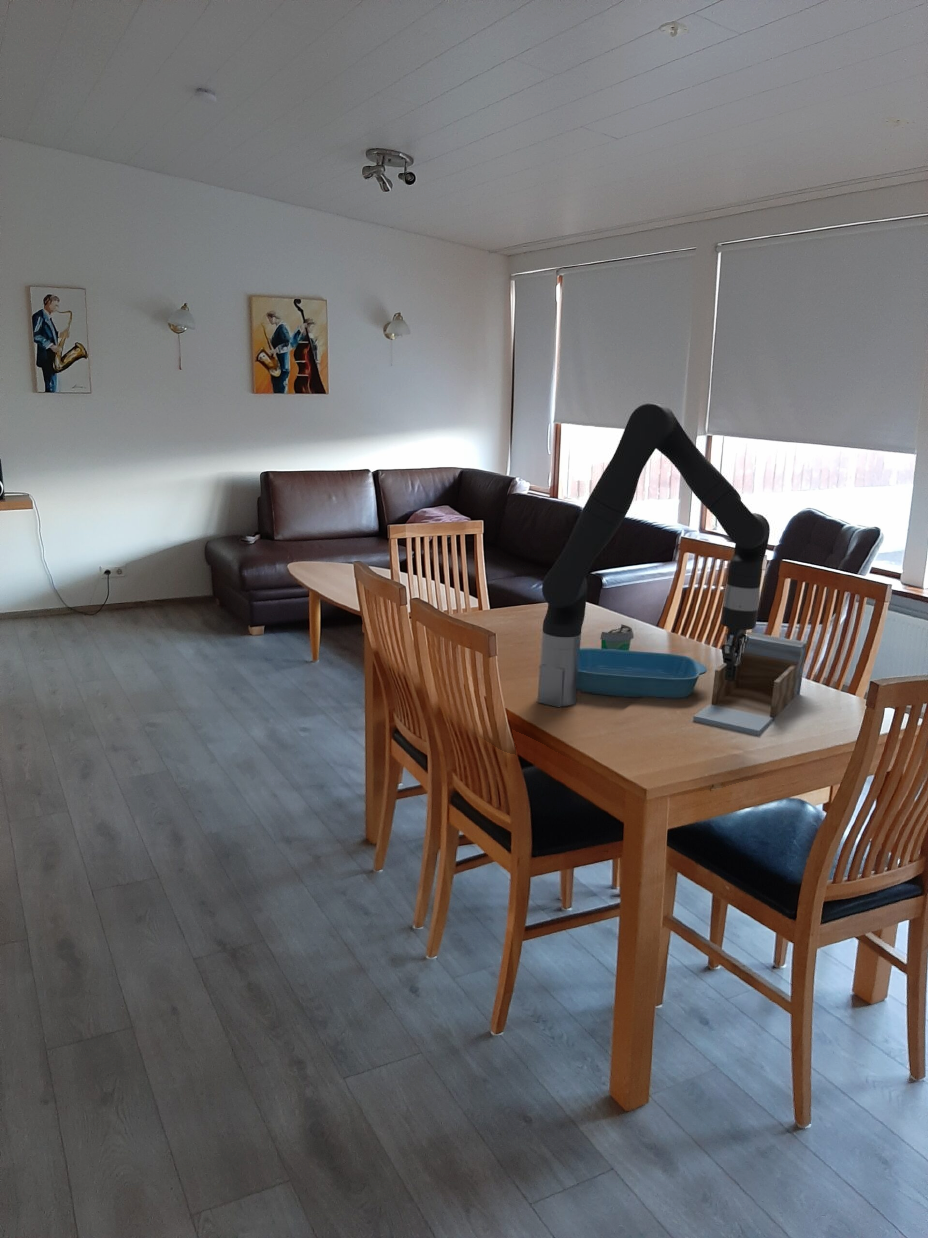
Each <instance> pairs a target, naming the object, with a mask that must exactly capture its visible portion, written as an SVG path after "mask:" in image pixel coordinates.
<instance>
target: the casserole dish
mask: <svg viewBox="0 0 928 1238" xmlns="http://www.w3.org/2000/svg"><path fill="white" fill-rule="evenodd" d="M707 670H708V669H707V667H706V666H705V664H703V663H701V662H698V661H696V660H695V659H694V658H692V657H689V656H687V655H682V654H674V653H667V652H665V653H664V652H650V651H638V650H629V651H627V650H614V649H601V648H597V647H596V648H595V647H594V648H593V647H584V648H583V647H580V655H579V668H578V682H577V690H580V691H581V692H583V693H588V694H594V695H595V694H596V695H600V696H602V695H603V696H612V697H613V696H614V697H625V698H637V699H638V698H639V699H641V698H643V697H655V698H656V697H657V698H671V699H672V698H673V699H678V698H686V697H689V696H690V695H691V694H692V692H693V691H694V689H695V688H696V684H697V683H698V680H699V678H700V676H702V675H704V674H706V673H707Z"/></svg>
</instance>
